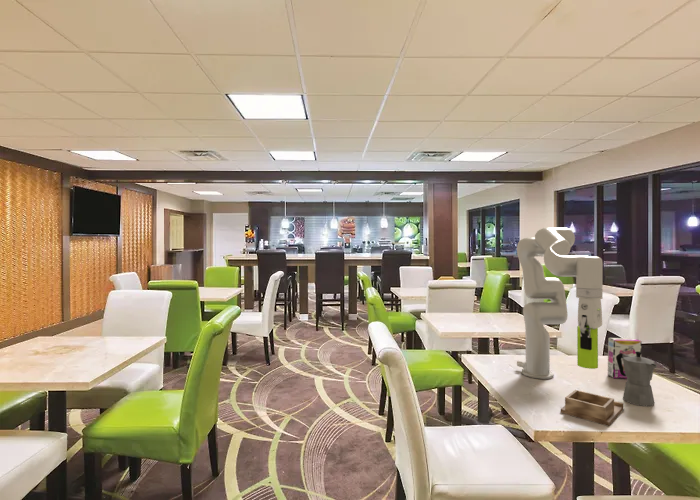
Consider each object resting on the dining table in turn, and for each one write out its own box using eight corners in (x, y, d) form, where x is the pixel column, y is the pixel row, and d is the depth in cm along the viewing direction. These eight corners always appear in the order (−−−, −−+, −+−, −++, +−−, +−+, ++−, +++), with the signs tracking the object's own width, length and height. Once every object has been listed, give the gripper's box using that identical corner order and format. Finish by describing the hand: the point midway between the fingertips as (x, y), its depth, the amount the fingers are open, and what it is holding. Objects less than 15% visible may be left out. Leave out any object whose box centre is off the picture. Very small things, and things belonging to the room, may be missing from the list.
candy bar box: (613, 378, 165) (613, 340, 165) (607, 375, 170) (607, 337, 170) (642, 379, 164) (642, 340, 164) (634, 375, 169) (634, 337, 169)
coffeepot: (667, 407, 136) (667, 355, 136) (645, 410, 134) (645, 357, 134) (626, 391, 151) (626, 344, 151) (606, 393, 149) (606, 346, 149)
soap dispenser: (594, 370, 127) (594, 308, 126) (573, 365, 133) (573, 306, 133) (605, 367, 129) (604, 307, 129) (584, 362, 135) (584, 304, 135)
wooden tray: (560, 412, 132) (560, 397, 132) (578, 398, 144) (578, 384, 144) (609, 426, 122) (609, 409, 122) (623, 409, 134) (623, 394, 134)
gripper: (594, 296, 122) (594, 354, 122) (609, 292, 134) (609, 344, 134) (567, 294, 128) (567, 350, 128) (584, 290, 140) (584, 341, 140)
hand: (589, 346), depth 131 cm, fingers closed on soap dispenser, 5 cm apart
